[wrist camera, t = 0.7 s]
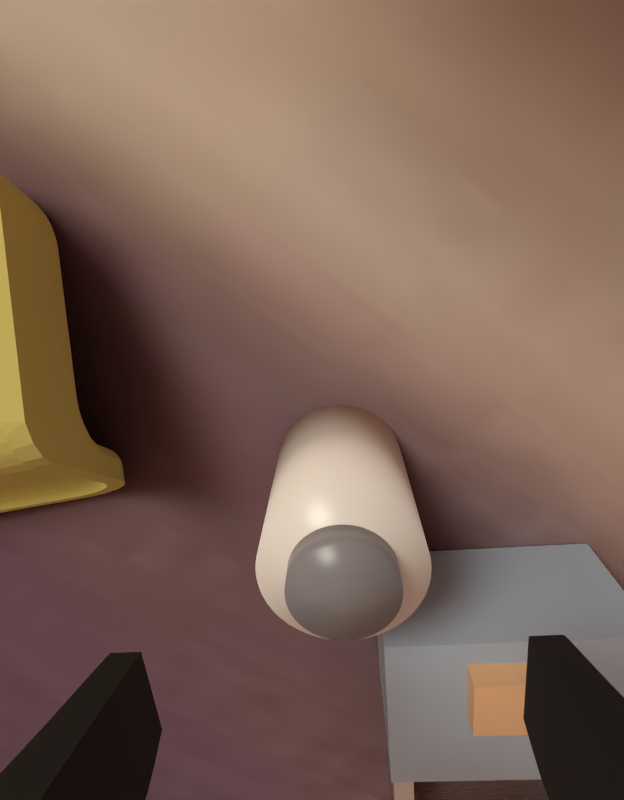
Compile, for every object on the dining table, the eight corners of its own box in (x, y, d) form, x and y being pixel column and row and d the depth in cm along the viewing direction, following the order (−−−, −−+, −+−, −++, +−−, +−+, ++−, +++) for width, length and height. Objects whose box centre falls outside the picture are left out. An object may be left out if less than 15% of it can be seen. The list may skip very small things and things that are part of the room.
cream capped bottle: (399, 400, 18) (437, 508, 11) (403, 511, 19) (437, 662, 13) (272, 409, 18) (238, 520, 11) (285, 518, 19) (262, 668, 13)
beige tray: (569, 657, 21) (598, 713, 19) (555, 783, 24) (579, 846, 21) (384, 664, 22) (390, 719, 19) (390, 786, 24) (396, 848, 22)
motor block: (587, 543, 19) (676, 659, 14) (573, 664, 21) (646, 803, 16) (373, 554, 20) (386, 669, 15) (379, 671, 22) (393, 807, 17)
